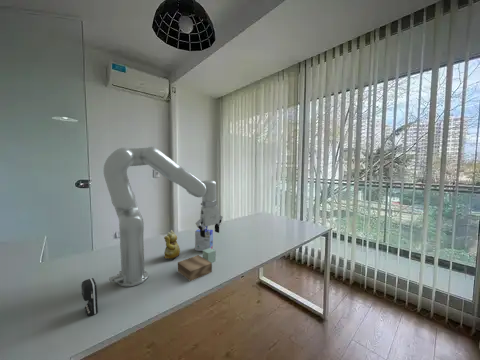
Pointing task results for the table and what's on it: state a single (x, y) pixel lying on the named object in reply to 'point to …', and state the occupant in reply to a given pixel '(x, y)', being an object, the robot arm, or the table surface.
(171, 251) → the decorative figurine
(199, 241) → the ink cartridge box
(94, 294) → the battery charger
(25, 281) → the table surface
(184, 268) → the walnut block
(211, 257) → the sage block
